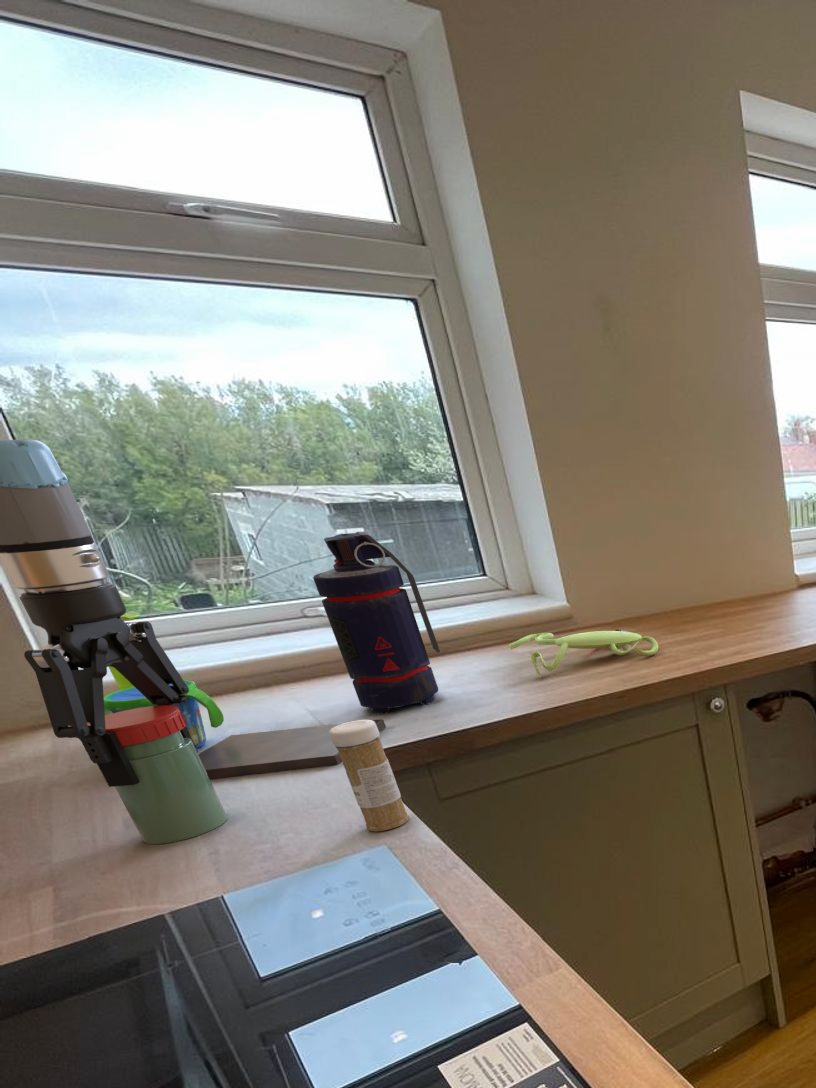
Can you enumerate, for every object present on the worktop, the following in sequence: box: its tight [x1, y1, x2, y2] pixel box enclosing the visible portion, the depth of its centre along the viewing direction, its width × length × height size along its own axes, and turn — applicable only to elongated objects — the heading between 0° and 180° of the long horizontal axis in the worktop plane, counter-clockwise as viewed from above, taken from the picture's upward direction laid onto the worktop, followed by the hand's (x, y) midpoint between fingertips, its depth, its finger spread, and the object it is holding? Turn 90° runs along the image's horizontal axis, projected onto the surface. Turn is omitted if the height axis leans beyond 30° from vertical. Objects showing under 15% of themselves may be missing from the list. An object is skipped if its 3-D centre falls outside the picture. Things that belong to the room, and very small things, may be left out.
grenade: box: [312, 531, 441, 715], centre depth 142 cm, size 14×12×30 cm
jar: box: [114, 731, 228, 845], centre depth 101 cm, size 8×8×13 cm
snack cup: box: [104, 679, 225, 749], centre depth 128 cm, size 16×10×10 cm
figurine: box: [508, 628, 659, 678], centre depth 169 cm, size 18×27×6 cm
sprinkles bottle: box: [329, 719, 410, 832], centre depth 99 cm, size 5×5×13 cm
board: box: [198, 718, 387, 780], centre depth 126 cm, size 22×16×2 cm
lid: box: [87, 705, 187, 747], centre depth 98 cm, size 9×9×2 cm
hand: (155, 768), depth 100 cm, fingers closed on lid, 8 cm apart
